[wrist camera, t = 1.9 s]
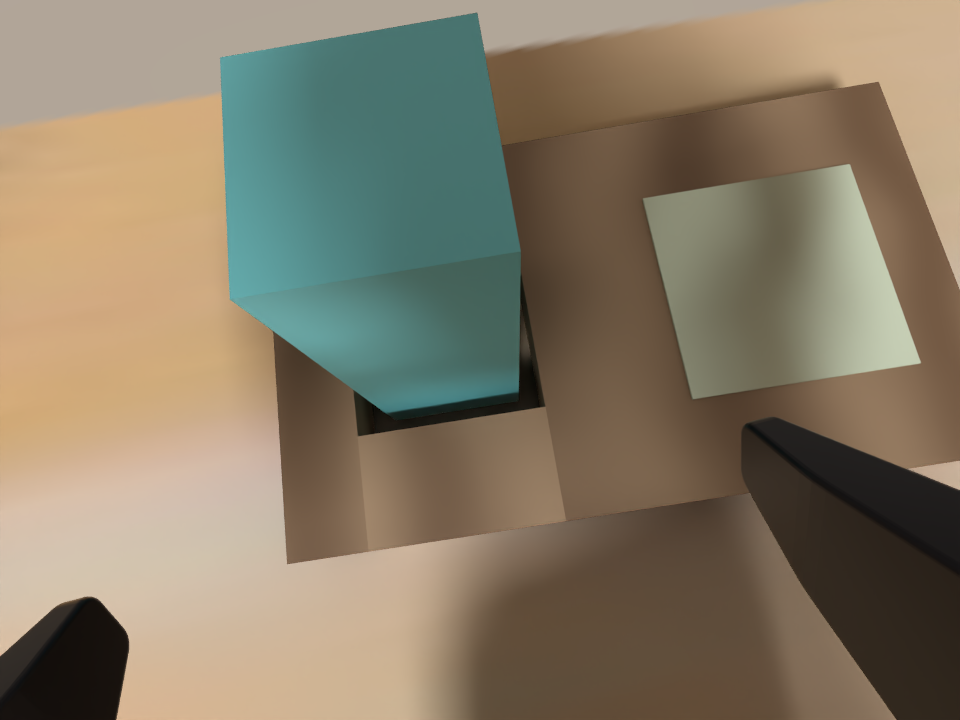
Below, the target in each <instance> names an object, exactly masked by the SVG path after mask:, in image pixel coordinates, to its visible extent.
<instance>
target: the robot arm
mask: <svg viewBox="0 0 960 720" xmlns="http://www.w3.org/2000/svg"><path fill="white" fill-rule="evenodd" d="M741 473H742V477H743V480H744V483H745V485H746V487H747V489H748V491H749V492H750V494H751V496H752V498H753V500H754V501H755V503H756V505H757V507H758V508H759V510H760V512H761V514H762V516H763V517H764V519H765V521H766V523H767V525H768V526H769V528H770V530H771V532H772V533H773V535H774V537H775V539H776V541H777V542H778V544H779V546H780V548H781V550H782V551H783V553H784V555H785V557H786V558H787V560H788V562H789V564H790V566H791V567H792V569H793V571H794V573H795V574H796V576H797V578H798V579H799V581H800V583H801V584H802V586H803V587H804V589H805V590H806V592H807V593H808V595H809V596H810V598H811V599H812V601H813V602H814V604H815V605H816V607H817V608H818V609H819V611H820V612H821V614H822V615H823V616H824V618H825V619H826V621H827V622H828V623H829V625H830V626H831V628H832V629H833V631H834V632H835V633H836V635H837V636H838V638H839V639H840V640H841V642H842V643H843V645H844V646H845V647H846V649H847V650H848V652H849V653H850V655H851V656H852V657H853V659H854V660H855V662H856V663H857V664H858V666H859V667H860V669H861V670H862V671H863V673H864V674H865V676H866V677H867V679H868V680H869V681H870V683H871V684H872V686H873V687H874V688H875V690H876V691H877V693H878V694H879V695H880V697H881V698H882V700H883V701H884V703H885V704H886V705H887V707H888V708H889V710H890V711H891V712H892V714H893V715H894V717H895V718H896V719H897V720H960V490H958V489H955V488H953V487H950V486H948V485H945V484H943V483H940V482H938V481H935V480H933V479H930V478H928V477H925V476H923V475H921V474H918V473H916V472H913V471H911V470H908V469H906V468H903V467H901V466H898V465H896V464H893V463H891V462H888V461H886V460H883V459H881V458H878V457H876V456H873V455H871V454H868V453H866V452H863V451H861V450H858V449H856V448H853V447H851V446H848V445H846V444H843V443H841V442H838V441H836V440H833V439H831V438H828V437H826V436H823V435H821V434H818V433H816V432H813V431H811V430H808V429H806V428H803V427H801V426H798V425H796V424H793V423H791V422H788V421H786V420H783V419H781V418H778V417H766V418H762V419H759V420H755V421H751V422H748V423H746V424H744V426H743V427H742V431H741ZM128 653H129V639H128V635H127V633H126V631H125V629H124V628H123V627H122V626H121V625H120V623H119V622H118V621H117V620H116V619H115V618H114V616H113V615H112V614H111V613H110V612H109V611H108V610H107V608H106V607H105V606H104V605H103V604H102V603H101V602H100V601H99V600H98V599H96V598H94V597H83V598H80V599H76V600H72V601H68V602H64V603H62V604H60V605H58V606H56V607H55V608H54V609H52V610H51V611H50V612H49V613H48V614H47V615H46V616H45V617H43V618H42V619H41V620H40V621H39V622H38V623H37V624H36V625H35V626H34V627H32V628H31V629H30V630H29V631H28V632H27V633H26V634H25V635H24V636H22V637H21V638H20V639H19V640H18V641H17V642H16V643H15V644H14V645H12V646H11V647H10V648H9V649H8V650H7V651H6V652H5V653H4V654H2V655H1V656H0V720H116V719H117V713H118V708H119V702H120V697H121V691H122V686H123V680H124V675H125V669H126V664H127V658H128Z"/></svg>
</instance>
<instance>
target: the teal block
mask: <svg viewBox="0 0 960 720" xmlns="http://www.w3.org/2000/svg"><path fill="white" fill-rule="evenodd" d="M220 64H221V91H222V116H223V140H224V165H225V190H226V215H227V240H228V265H229V290H230V300H231V301H233V302H234V303H236V304H237V305H238V306H240V307H241V308H242V309H244V310H245V311H246V312H248V313H249V314H251V315H252V316H253V317H255V318H256V319H257V320H259V321H260V322H262V323H263V324H264V325H266V326H267V327H268V328H270V329H271V330H272V331H274V332H275V333H277V334H278V335H279V336H281V337H282V338H283V339H285V340H286V341H287V342H289V343H290V344H292V345H293V346H294V347H296V348H297V349H298V350H300V351H301V352H303V353H304V354H305V355H307V356H308V357H309V358H311V359H312V360H313V361H315V362H316V363H318V364H319V365H320V366H322V367H323V368H324V369H326V370H327V371H329V372H330V373H331V374H333V375H334V376H335V377H337V378H338V379H339V380H341V381H342V382H344V383H345V384H346V385H348V386H349V387H350V388H352V389H353V390H354V391H356V392H357V393H359V394H360V395H361V396H363V397H364V398H365V399H367V400H368V401H370V402H371V403H372V404H374V405H375V406H376V407H378V408H379V409H380V410H382V411H383V412H385V413H386V414H387V415H389V416H390V417H391V418H393V419H394V420H395V421H396V420H403V419H409V418H415V417H421V416H428V415H434V414H440V413H447V412H453V411H459V410H465V409H472V408H478V407H484V406H491V405H497V404H503V403H510V402H516V401H519V345H520V276H521V249H520V244H519V239H518V233H517V228H516V222H515V217H514V211H513V206H512V200H511V195H510V189H509V184H508V178H507V173H506V167H505V162H504V157H503V151H502V146H501V140H500V135H499V129H498V124H497V118H496V113H495V107H494V102H493V96H492V91H491V85H490V80H489V75H488V69H487V64H486V58H485V53H484V47H483V42H482V36H481V31H480V25H479V20H478V14H477V13H473V14H467V15H461V16H456V17H451V18H445V19H439V20H433V21H427V22H421V23H416V24H410V25H404V26H398V27H393V28H387V29H382V30H376V31H370V32H365V33H359V34H353V35H347V36H341V37H336V38H329V39H324V40H318V41H313V42H307V43H301V44H295V45H290V46H284V47H279V48H273V49H267V50H261V51H255V52H249V53H244V54H238V55H232V56H226V57H221V58H220Z"/></svg>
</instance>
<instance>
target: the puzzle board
mask: <svg viewBox="0 0 960 720" xmlns="http://www.w3.org/2000/svg"><path fill="white" fill-rule="evenodd" d="M502 151H503V157H504V162H505V167H506V173H507V178H508V184H509V189H510V195H511V200H512V206H513V211H514V217H515V222H516V228H517V233H518V239H519V244H520V249H521V276H520V297H521V303H522V309H523V314H524V320H525V325H526V331H527V337H528V342H529V348H530V353H531V359H532V365H533V370H534V376H535V381H536V387H537V393H538V398H539V404H540V408H534V409H528V410H521V411H515V412H509V413H502V414H496V415H490V416H484V417H477V418H471V419H465V420H458V421H452V422H446V423H439V424H433V425H427V426H421V427H414V428H408V429H402V430H395V431H389V432H383V433H376V434H375V427H374V417H373V408H372V403H371V402H370V401H368V400H367V399H365V398H364V397H363V396H361V395H360V394H359V393H357V392H356V391H354V390H353V389H352V388H350V387H349V386H348V385H346V384H345V383H344V382H342V381H341V380H339V379H338V378H337V377H335V376H334V375H333V374H331V373H330V372H329V371H327V370H326V369H324V368H323V367H322V366H320V365H319V364H318V363H316V362H315V361H313V360H312V359H311V358H309V357H308V356H307V355H305V354H304V353H303V352H301V351H300V350H298V349H297V348H296V347H294V346H293V345H292V344H290V343H289V342H287V341H286V340H285V339H283V338H282V337H281V336H279V335H278V334H277V333H275V332H274V331H273V335H274V351H275V368H276V385H277V402H278V418H279V435H280V452H281V469H282V485H283V502H284V519H285V536H286V552H287V564H291V563H298V562H304V561H311V560H317V559H324V558H330V557H337V556H343V555H350V554H356V553H363V552H369V551H376V550H382V549H389V548H395V547H401V546H408V545H414V544H421V543H427V542H434V541H440V540H447V539H453V538H460V537H466V536H473V535H479V534H486V533H492V532H499V531H505V530H512V529H518V528H525V527H531V526H538V525H544V524H551V523H557V522H564V521H570V520H577V519H583V518H590V517H596V516H603V515H609V514H616V513H622V512H629V511H635V510H642V509H648V508H655V507H661V506H668V505H674V504H681V503H687V502H694V501H700V500H707V499H713V498H720V497H726V496H733V495H739V494H746V493H750V492H749V491H748V489H747V487H746V485H745V483H744V480H743V477H742V473H741V431H742V427H743V426H744V424H746V423H748V422H751V421H755V420H759V419H762V418H766V417H778V418H781V419H783V420H786V421H788V422H791V423H793V424H796V425H798V426H801V427H803V428H806V429H808V430H811V431H813V432H816V433H818V434H821V435H823V436H826V437H828V438H831V439H833V440H836V441H838V442H841V443H843V444H846V445H848V446H851V447H853V448H856V449H858V450H861V451H863V452H866V453H868V454H871V455H873V456H876V457H878V458H881V459H883V460H886V461H888V462H891V463H893V464H896V465H898V466H901V467H903V468H906V469H908V468H915V467H921V466H927V465H934V464H940V463H947V462H953V461H960V290H959V287H958V284H957V282H956V279H955V277H954V274H953V272H952V269H951V266H950V264H949V261H948V259H947V256H946V254H945V251H944V248H943V246H942V243H941V241H940V238H939V236H938V233H937V231H936V228H935V225H934V223H933V220H932V218H931V215H930V213H929V210H928V207H927V205H926V202H925V200H924V197H923V195H922V192H921V189H920V187H919V184H918V182H917V179H916V177H915V174H914V172H913V169H912V166H911V164H910V161H909V159H908V156H907V154H906V151H905V148H904V146H903V143H902V141H901V138H900V136H899V133H898V130H897V128H896V125H895V123H894V120H893V118H892V115H891V113H890V110H889V107H888V105H887V102H886V100H885V97H884V95H883V92H882V89H881V87H880V84H879V82H875V83H869V84H863V85H857V86H851V87H845V88H839V89H833V90H827V91H822V92H816V93H810V94H804V95H798V96H792V97H786V98H780V99H774V100H768V101H763V102H757V103H751V104H745V105H739V106H733V107H727V108H721V109H715V110H709V111H703V112H698V113H692V114H686V115H680V116H674V117H668V118H662V119H656V120H650V121H644V122H639V123H633V124H627V125H621V126H615V127H609V128H603V129H597V130H591V131H585V132H579V133H574V134H568V135H562V136H556V137H550V138H544V139H538V140H532V141H526V142H520V143H515V144H509V145H503V146H502Z"/></svg>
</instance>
